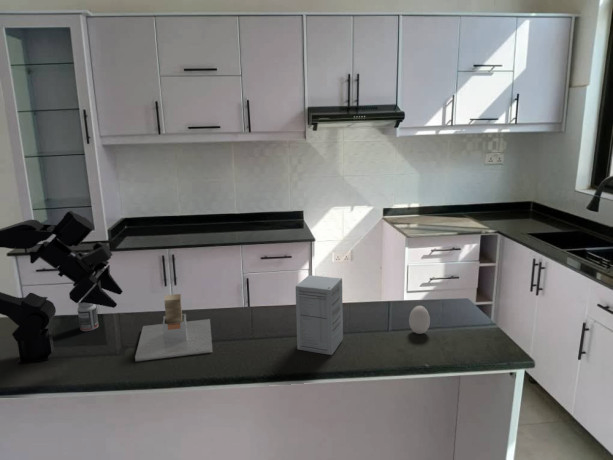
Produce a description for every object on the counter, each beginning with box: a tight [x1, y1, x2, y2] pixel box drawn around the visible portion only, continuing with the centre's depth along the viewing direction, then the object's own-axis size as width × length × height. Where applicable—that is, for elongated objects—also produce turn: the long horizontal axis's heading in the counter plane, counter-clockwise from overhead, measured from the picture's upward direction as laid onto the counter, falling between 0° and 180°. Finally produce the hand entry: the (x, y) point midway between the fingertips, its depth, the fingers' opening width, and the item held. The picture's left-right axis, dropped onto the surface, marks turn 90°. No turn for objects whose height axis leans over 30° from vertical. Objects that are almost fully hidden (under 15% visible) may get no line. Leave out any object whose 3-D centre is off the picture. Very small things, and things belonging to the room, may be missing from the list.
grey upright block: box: [295, 274, 344, 356], centre depth 115 cm, size 10×9×17 cm
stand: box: [134, 313, 214, 362], centre depth 120 cm, size 18×18×6 cm
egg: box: [408, 305, 431, 335], centre depth 122 cm, size 5×5×8 cm
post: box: [164, 293, 183, 323], centre depth 119 cm, size 4×4×10 cm
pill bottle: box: [77, 299, 99, 332], centre depth 128 cm, size 5×5×8 cm
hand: (118, 299), depth 115 cm, fingers open, 9 cm apart
